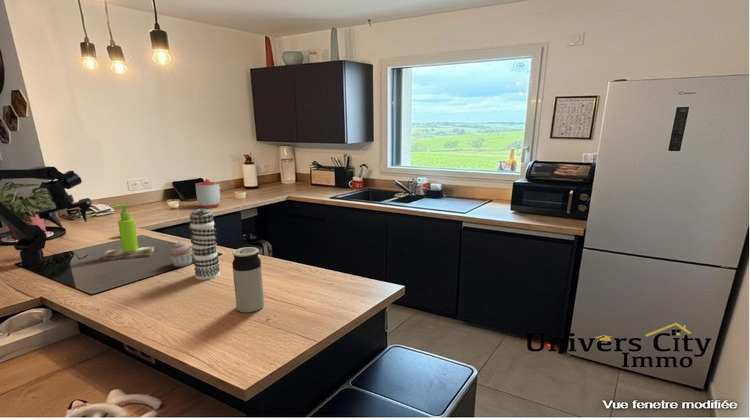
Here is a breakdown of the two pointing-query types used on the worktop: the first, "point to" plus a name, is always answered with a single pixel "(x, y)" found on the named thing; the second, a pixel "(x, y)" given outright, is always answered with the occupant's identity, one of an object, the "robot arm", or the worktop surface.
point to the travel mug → (248, 279)
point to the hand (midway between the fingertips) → (74, 224)
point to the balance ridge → (128, 253)
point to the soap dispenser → (127, 230)
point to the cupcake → (181, 254)
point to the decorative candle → (204, 244)
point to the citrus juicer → (208, 194)
